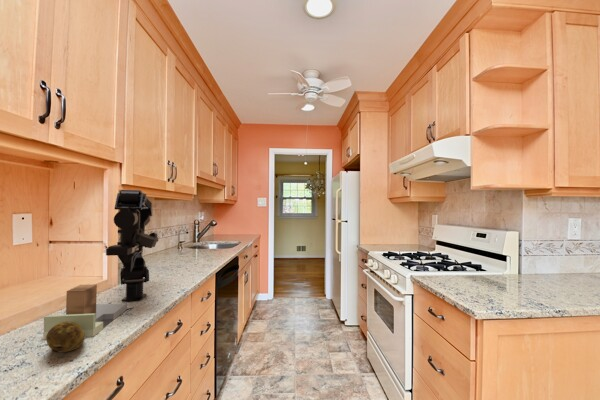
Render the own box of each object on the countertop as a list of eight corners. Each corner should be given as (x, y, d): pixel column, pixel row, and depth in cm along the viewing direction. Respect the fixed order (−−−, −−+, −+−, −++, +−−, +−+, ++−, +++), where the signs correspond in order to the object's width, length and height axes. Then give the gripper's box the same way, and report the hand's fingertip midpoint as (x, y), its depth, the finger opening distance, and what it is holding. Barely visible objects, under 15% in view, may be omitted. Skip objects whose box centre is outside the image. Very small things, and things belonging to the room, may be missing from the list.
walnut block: (79, 318, 82) (80, 284, 82) (96, 317, 83) (96, 284, 83) (65, 327, 76) (66, 291, 77) (83, 326, 77) (84, 290, 77)
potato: (97, 336, 76) (98, 307, 76) (73, 362, 63) (74, 327, 63) (61, 340, 73) (62, 310, 73) (29, 368, 61) (30, 332, 61)
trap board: (88, 310, 93) (88, 292, 93) (126, 309, 95) (127, 291, 95) (43, 339, 74) (43, 317, 74) (93, 336, 75) (93, 314, 75)
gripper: (144, 228, 87) (143, 278, 86) (164, 224, 105) (163, 265, 105) (105, 228, 85) (104, 279, 85) (132, 224, 104) (131, 266, 103)
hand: (129, 271), depth 94 cm, fingers closed
